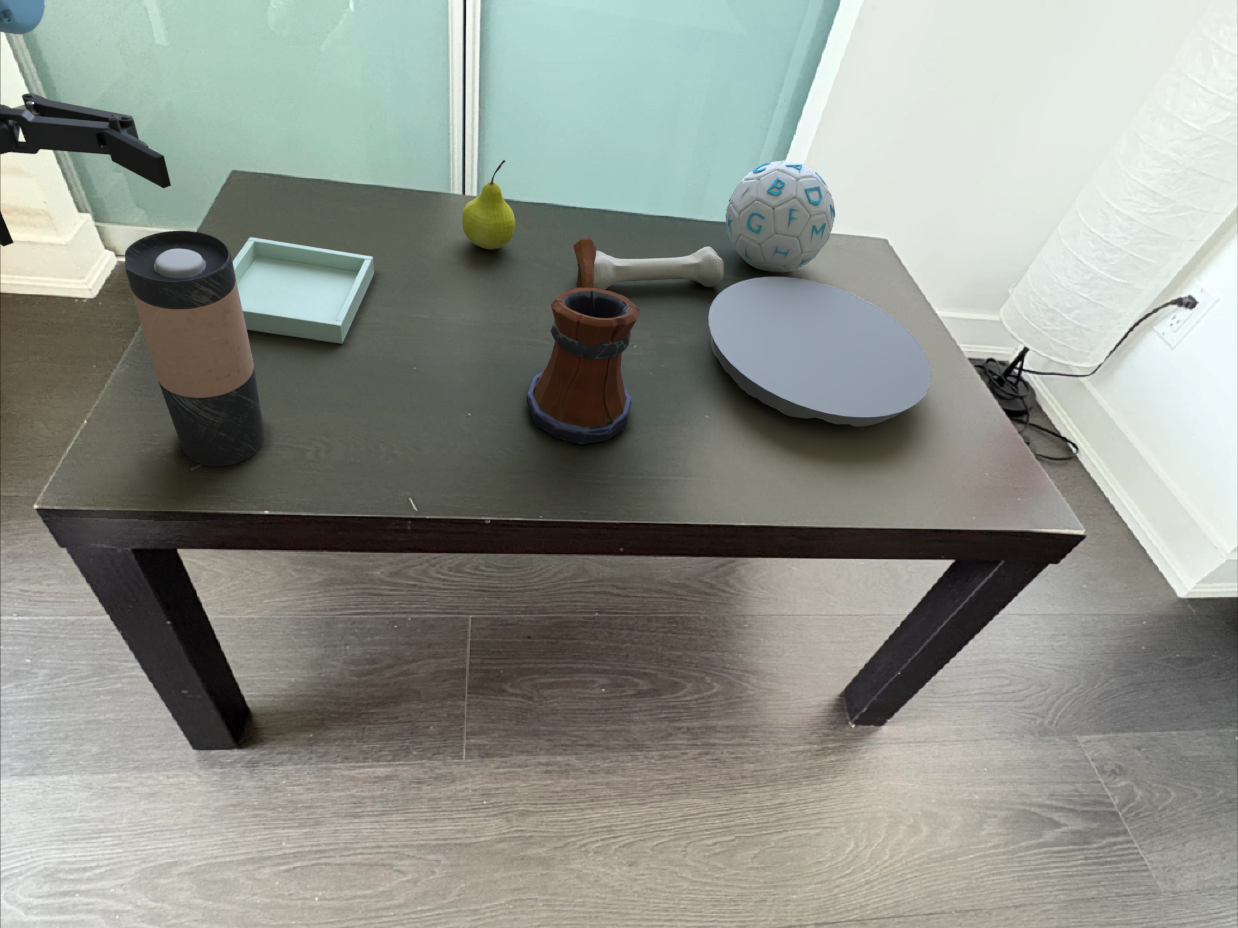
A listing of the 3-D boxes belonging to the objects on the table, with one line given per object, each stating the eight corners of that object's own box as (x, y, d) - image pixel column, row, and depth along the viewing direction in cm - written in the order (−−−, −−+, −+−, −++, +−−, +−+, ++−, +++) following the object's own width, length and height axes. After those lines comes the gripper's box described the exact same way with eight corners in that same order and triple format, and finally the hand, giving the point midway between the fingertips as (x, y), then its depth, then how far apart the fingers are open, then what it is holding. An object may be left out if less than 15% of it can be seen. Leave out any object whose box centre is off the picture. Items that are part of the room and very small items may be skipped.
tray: (342, 343, 88) (340, 325, 86) (206, 323, 86) (201, 304, 84) (374, 274, 98) (373, 256, 96) (253, 254, 97) (249, 236, 95)
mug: (522, 339, 94) (534, 225, 84) (616, 346, 96) (639, 235, 86) (527, 444, 82) (541, 326, 71) (635, 449, 84) (665, 335, 73)
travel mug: (284, 430, 77) (253, 249, 63) (230, 480, 72) (182, 294, 58) (218, 403, 78) (172, 219, 64) (159, 449, 73) (96, 260, 59)
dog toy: (585, 299, 102) (591, 266, 99) (573, 274, 106) (578, 240, 102) (724, 295, 109) (734, 263, 105) (708, 270, 113) (717, 239, 109)
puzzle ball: (830, 270, 119) (869, 176, 108) (780, 304, 110) (817, 205, 99) (748, 226, 124) (777, 132, 114) (694, 256, 115) (720, 156, 104)
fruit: (468, 261, 104) (472, 174, 95) (455, 234, 108) (457, 148, 100) (518, 257, 106) (526, 173, 98) (503, 231, 111) (510, 148, 102)
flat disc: (749, 454, 86) (761, 424, 83) (670, 305, 105) (678, 276, 101) (957, 437, 95) (975, 410, 92) (851, 303, 113) (863, 276, 110)
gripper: (73, 112, 79) (226, 191, 74) (-228, 192, 63) (-58, 302, 57) (48, 32, 74) (210, 111, 69) (-288, 96, 57) (-108, 207, 52)
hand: (89, 198), depth 63 cm, fingers open, 13 cm apart
